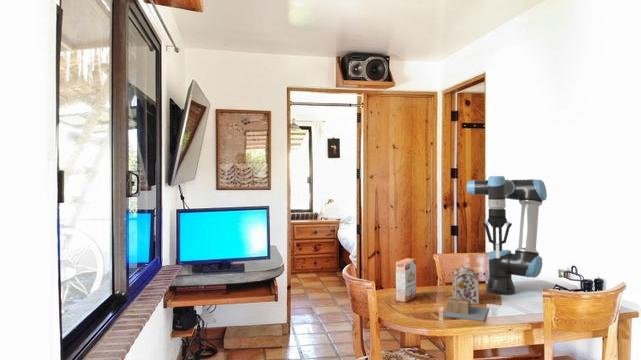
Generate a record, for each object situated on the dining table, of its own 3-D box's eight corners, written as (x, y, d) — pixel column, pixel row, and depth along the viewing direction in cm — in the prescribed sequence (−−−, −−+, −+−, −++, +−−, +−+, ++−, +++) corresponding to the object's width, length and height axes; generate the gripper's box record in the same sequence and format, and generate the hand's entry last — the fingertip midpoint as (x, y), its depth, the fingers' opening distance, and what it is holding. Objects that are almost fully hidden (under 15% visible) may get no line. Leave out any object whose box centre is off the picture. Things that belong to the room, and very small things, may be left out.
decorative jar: (479, 305, 205) (478, 269, 205) (455, 304, 207) (454, 269, 207) (475, 298, 216) (474, 264, 216) (452, 297, 219) (452, 264, 219)
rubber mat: (450, 304, 206) (450, 303, 206) (488, 309, 198) (488, 307, 198) (442, 316, 189) (442, 315, 189) (484, 321, 180) (483, 320, 180)
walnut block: (470, 309, 197) (449, 306, 201) (470, 298, 197) (449, 296, 201) (468, 314, 189) (446, 311, 193) (467, 303, 189) (445, 301, 193)
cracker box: (406, 303, 210) (405, 263, 210) (395, 301, 213) (394, 261, 213) (417, 296, 221) (416, 258, 221) (407, 295, 225) (406, 257, 225)
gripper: (481, 208, 192) (482, 258, 192) (511, 209, 186) (512, 260, 186) (483, 207, 199) (484, 255, 198) (512, 207, 192) (513, 257, 192)
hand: (497, 257), depth 192 cm, fingers closed
